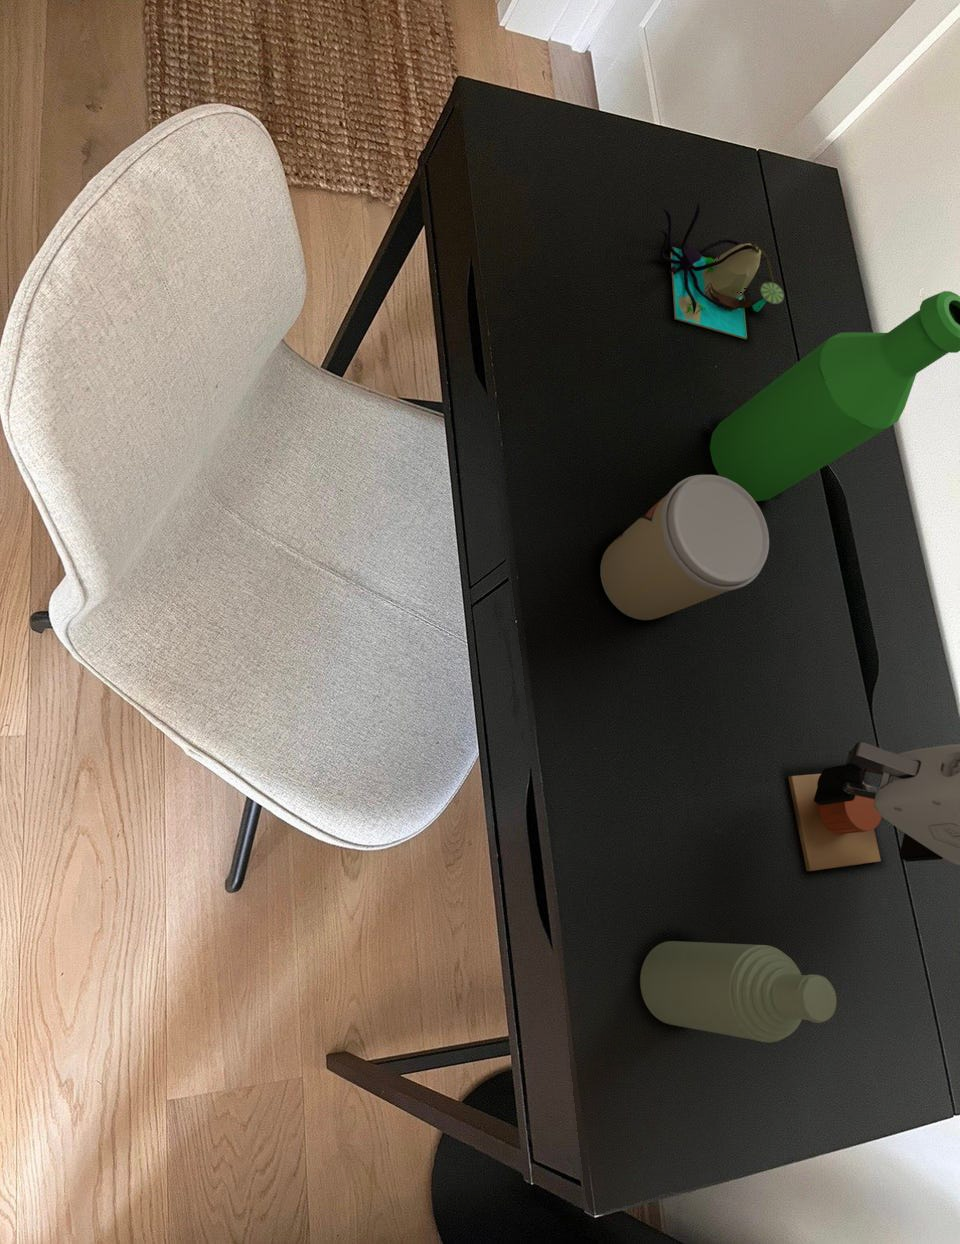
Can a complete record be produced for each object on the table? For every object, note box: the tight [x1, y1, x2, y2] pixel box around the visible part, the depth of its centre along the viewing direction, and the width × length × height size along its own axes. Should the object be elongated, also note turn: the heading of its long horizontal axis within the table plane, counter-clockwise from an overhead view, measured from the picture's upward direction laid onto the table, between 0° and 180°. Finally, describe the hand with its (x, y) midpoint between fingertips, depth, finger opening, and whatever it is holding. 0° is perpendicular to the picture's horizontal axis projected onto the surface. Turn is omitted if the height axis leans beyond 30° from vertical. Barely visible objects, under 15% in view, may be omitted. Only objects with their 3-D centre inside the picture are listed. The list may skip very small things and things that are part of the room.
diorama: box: [659, 201, 785, 340], centre depth 92 cm, size 11×15×6 cm
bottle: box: [709, 290, 960, 502], centre depth 78 cm, size 9×9×25 cm
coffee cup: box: [599, 474, 770, 621], centre depth 75 cm, size 9×9×12 cm
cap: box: [818, 782, 883, 834], centre depth 79 cm, size 4×4×3 cm
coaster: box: [787, 773, 882, 872], centre depth 81 cm, size 8×8×1 cm
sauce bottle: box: [639, 940, 838, 1043], centre depth 64 cm, size 6×6×16 cm
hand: (863, 815), depth 78 cm, fingers open, 9 cm apart
